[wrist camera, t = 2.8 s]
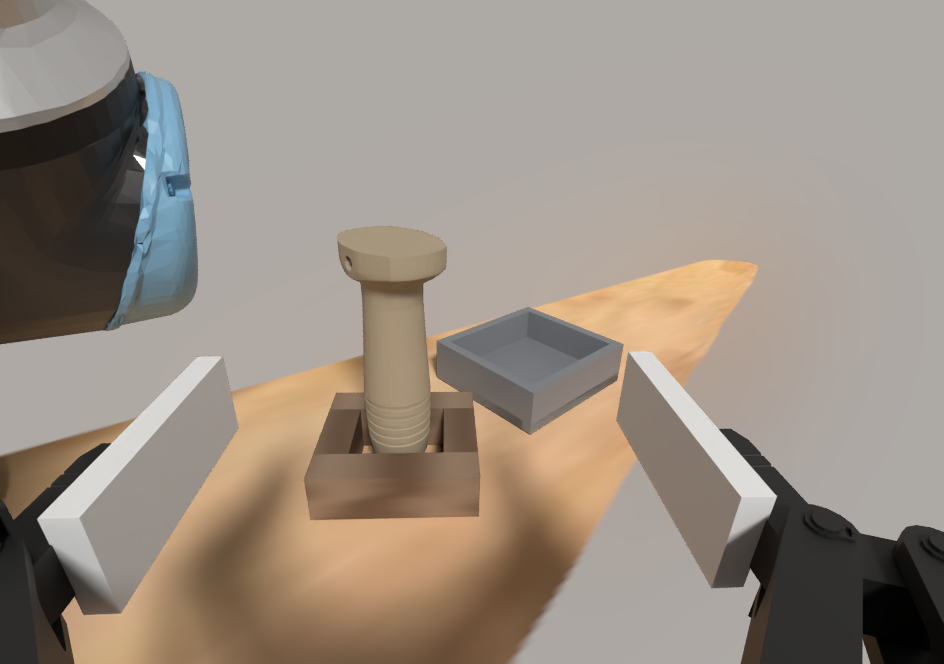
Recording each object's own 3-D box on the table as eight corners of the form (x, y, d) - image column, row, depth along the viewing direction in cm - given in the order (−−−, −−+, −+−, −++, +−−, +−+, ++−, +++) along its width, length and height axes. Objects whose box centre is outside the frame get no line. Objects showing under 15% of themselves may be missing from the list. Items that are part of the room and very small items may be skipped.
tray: (530, 434, 35) (533, 393, 33) (437, 377, 42) (436, 340, 40) (617, 380, 42) (623, 344, 40) (525, 338, 49) (528, 307, 47)
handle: (395, 514, 28) (380, 263, 21) (344, 456, 32) (319, 233, 26) (461, 478, 30) (465, 246, 24) (406, 429, 35) (397, 222, 28)
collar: (310, 520, 27) (304, 479, 26) (340, 428, 35) (336, 392, 33) (478, 516, 28) (480, 475, 26) (471, 426, 35) (472, 391, 34)
